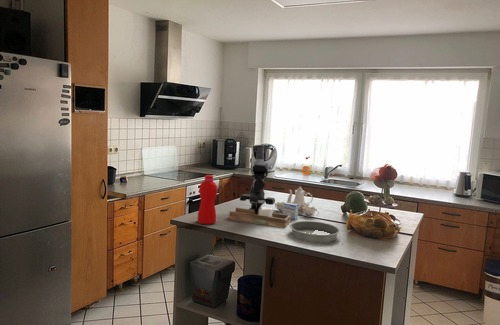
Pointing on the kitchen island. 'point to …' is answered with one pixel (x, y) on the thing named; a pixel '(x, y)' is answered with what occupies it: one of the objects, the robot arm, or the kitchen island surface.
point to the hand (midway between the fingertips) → (256, 214)
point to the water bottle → (207, 201)
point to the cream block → (265, 212)
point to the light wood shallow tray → (260, 218)
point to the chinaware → (300, 201)
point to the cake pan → (310, 228)
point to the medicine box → (291, 210)
